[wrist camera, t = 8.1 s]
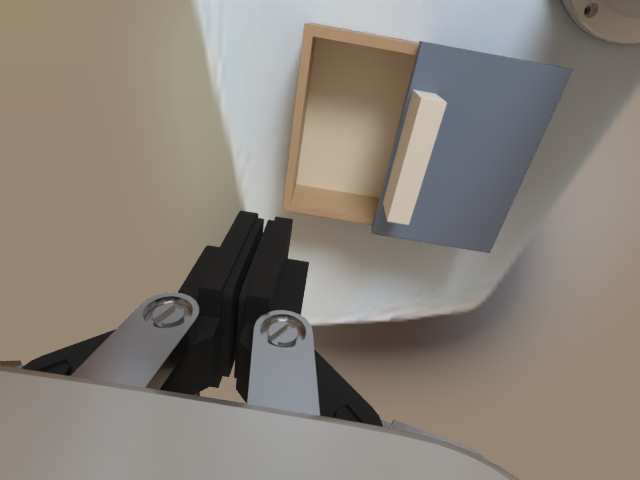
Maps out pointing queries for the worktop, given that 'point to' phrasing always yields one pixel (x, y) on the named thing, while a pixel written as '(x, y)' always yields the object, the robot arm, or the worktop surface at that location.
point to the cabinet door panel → (464, 145)
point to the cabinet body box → (345, 121)
